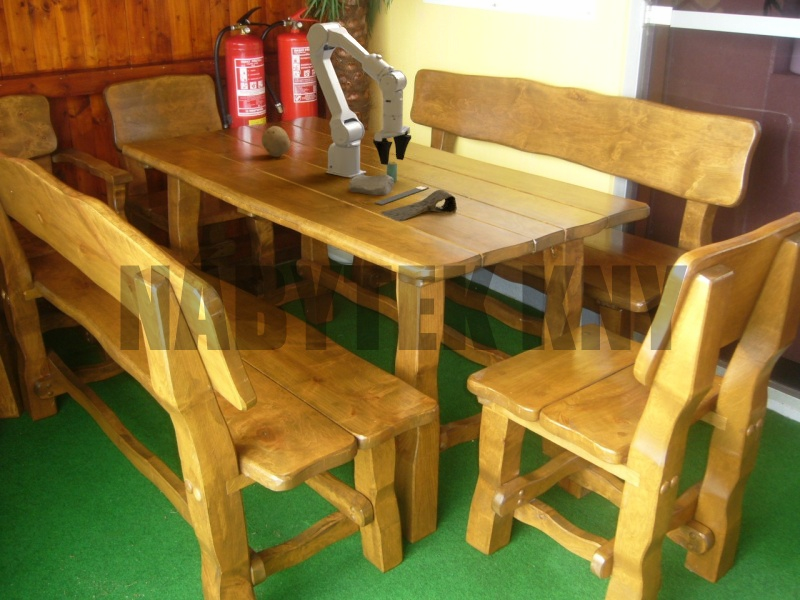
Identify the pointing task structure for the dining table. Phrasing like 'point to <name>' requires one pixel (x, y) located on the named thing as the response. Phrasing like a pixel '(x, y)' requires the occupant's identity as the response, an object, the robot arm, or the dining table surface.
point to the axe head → (424, 206)
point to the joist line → (401, 195)
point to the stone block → (371, 184)
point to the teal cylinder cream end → (392, 170)
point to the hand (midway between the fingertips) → (392, 161)
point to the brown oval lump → (276, 141)
